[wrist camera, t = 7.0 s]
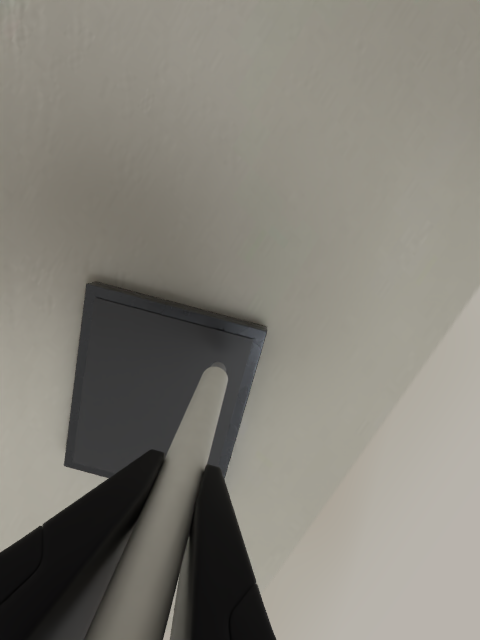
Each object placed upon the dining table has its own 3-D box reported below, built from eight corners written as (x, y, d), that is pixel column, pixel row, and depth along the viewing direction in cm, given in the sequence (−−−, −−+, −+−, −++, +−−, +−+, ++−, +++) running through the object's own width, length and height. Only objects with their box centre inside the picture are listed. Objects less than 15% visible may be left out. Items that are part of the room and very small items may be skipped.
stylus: (233, 361, 15) (99, 899, 3) (227, 383, 16) (83, 951, 3) (209, 355, 15) (-27, 862, 3) (203, 376, 16) (-31, 920, 3)
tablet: (267, 326, 18) (267, 331, 17) (218, 494, 21) (215, 508, 20) (95, 280, 18) (84, 283, 17) (72, 455, 21) (62, 467, 20)
